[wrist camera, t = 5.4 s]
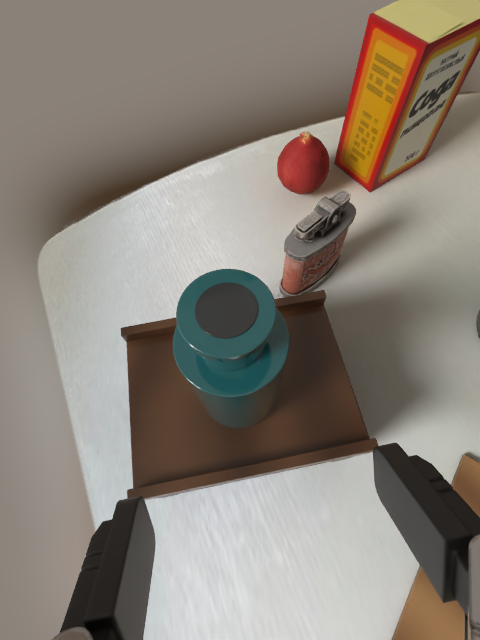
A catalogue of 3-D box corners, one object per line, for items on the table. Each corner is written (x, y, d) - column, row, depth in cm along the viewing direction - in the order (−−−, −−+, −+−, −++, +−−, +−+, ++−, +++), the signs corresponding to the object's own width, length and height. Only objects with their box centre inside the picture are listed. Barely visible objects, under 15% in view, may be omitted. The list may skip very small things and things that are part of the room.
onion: (298, 168, 45) (307, 106, 38) (333, 191, 43) (348, 131, 36) (266, 191, 43) (268, 131, 36) (300, 216, 41) (309, 158, 34)
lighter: (322, 244, 39) (341, 170, 30) (345, 261, 38) (373, 190, 29) (272, 286, 37) (277, 221, 28) (295, 306, 36) (308, 244, 27)
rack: (309, 332, 35) (324, 289, 27) (348, 459, 29) (379, 449, 22) (150, 363, 34) (120, 327, 26) (160, 499, 28) (127, 502, 21)
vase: (229, 336, 27) (211, 233, 16) (293, 376, 25) (321, 291, 15) (183, 398, 25) (127, 327, 14) (250, 445, 23) (244, 406, 13)
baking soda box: (387, 133, 47) (444, -24, 33) (424, 159, 45) (504, 2, 30) (334, 163, 45) (370, 9, 31) (370, 192, 42) (428, 39, 28)
